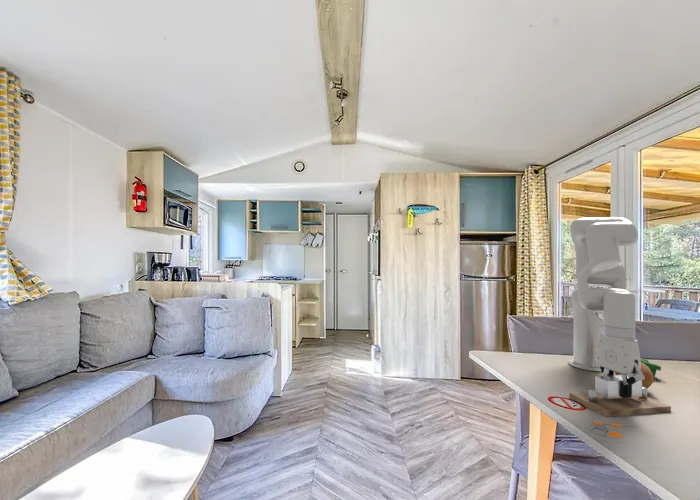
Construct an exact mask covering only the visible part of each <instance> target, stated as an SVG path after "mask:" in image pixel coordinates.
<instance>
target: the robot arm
mask: <svg viewBox="0 0 700 500" xmlns="http://www.w3.org/2000/svg"><path fill="white" fill-rule="evenodd" d="M569 231H570V236H571V239H572V243H573V245H574V248H575V277H576V280H577V281H576V288H575V289H574V290H573V291H572V292H571V294H570V297H571V306H572V312H573V314H572V315H573V349H572V350H573V355H572V356H573V358H570V359H569V360H568V364H569V365H570V366H572V367H575V368H577V369H581V370H585V371H593V372H602V376H612V375H615V372H618V373H620V374H621V375H622V381H623V383H621V397H622V398H631V397H632V384H635V382H637V381H640V380H644V379H645V377H644V375H643V374H642V372H641V370H640V369H641V361H640V358H641V353H640V352H641V351H640V347H639V346H640V345H639V342H638V340H637V339H636V315H637V314H636V305H637V303H636V301H637V300H636V299H637V298H636V295H635V294H634V293H633V292H631V291H629V290H628V289H627V271H626V267H625V266H624V265H623V264H622V263H621V260H622V259H621V255H620V250H619V249H620V248H619V247H632V246H634V245H635V244H637V242H638V239H639V233H638V228H637V227H636V225H635V223H634V222H632V221H630V220H629V219H627V218H625V217H621V216H619V217H617V216H615V217H614V216H609V217H608V216H607V217H604V216H603V217H581V218H577V219H574V220H573V221H572V222H571V223H570V230H569ZM589 285H591V286H593V287H591V286H589ZM594 285H595V286H596V287H594ZM597 286H608V287H597ZM596 313H602V321H601V320H600V318H599V317H598V316H597V314H596ZM633 374H635V376H633ZM627 375H628V378H627Z"/></svg>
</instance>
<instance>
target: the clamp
mask: <svg viewBox="0 0 700 500" xmlns="http://www.w3.org/2000/svg"><path fill="white" fill-rule="evenodd" d="M640 361H641V362H642V363H644V364H645V365H646V366H647V367H648V368H649V369H650V370H651V372H652V374H653V377H655V376H656V373H657V371H661V370H662V366H661V365H658V364H656V363H652V362H650V360H647V359H645V358H641V357H640Z"/></svg>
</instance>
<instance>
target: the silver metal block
mask: <svg viewBox="0 0 700 500" xmlns="http://www.w3.org/2000/svg"><path fill="white" fill-rule="evenodd" d="M627 378H628V375H627ZM621 383H623V381H622V375H615V374H614V375H612V376H603V375H596V376H595V379H594V385H595V386H594V387H595V388H594V390H595V391H597V394H598V395H600V396H603V397H605V398H607V399H613V398H622V397H621ZM632 397H642V380H640V381H637V382H635V384H632Z"/></svg>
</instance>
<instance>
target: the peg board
mask: <svg viewBox="0 0 700 500" xmlns="http://www.w3.org/2000/svg"><path fill="white" fill-rule="evenodd" d="M569 399H571V400H573V401H575V402H576V401H577V403H578V402H579V403H578V404H580V403H581V405H582V404H583V406H584V405H585V406H584V407H586V406H587V407H586V408H588V407H589V408H588V409H590V408H591V410H592V409H593V410H592V411H594V410H595V412H596V413H598V414H600V415H602V416H604V417H605V418H606V417H607V418H609V417H621V416H622V417H623V416H631V415H632V416H634V415H645V414H646V415H647V414H658V413H659V414H660V413H670V412H672V406H671V405H670V404H666V403H664V402H661V401H659V400H656V399H654V398H652V397H649V396H648V388H646V387H642V397H631V398H613V399H607V398H605V397H603V396H600V395H598V394H597V391H595V389H588V391H585V392H584V391H579V392H569Z"/></svg>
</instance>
